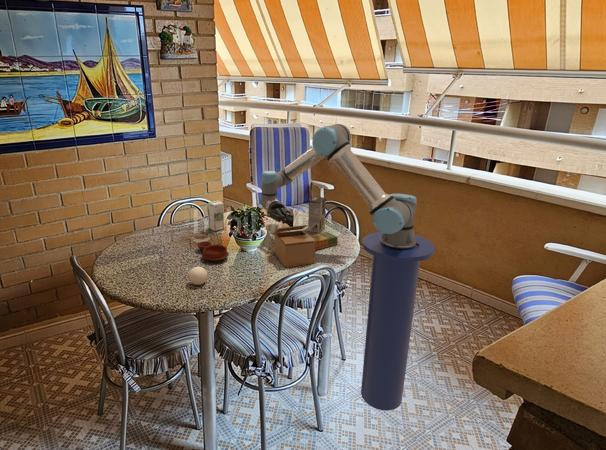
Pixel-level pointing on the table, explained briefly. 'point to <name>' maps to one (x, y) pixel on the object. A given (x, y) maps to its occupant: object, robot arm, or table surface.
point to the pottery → (213, 251)
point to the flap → (291, 228)
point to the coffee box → (316, 214)
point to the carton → (324, 240)
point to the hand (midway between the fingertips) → (291, 224)
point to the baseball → (198, 275)
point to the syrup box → (216, 215)
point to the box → (294, 248)
